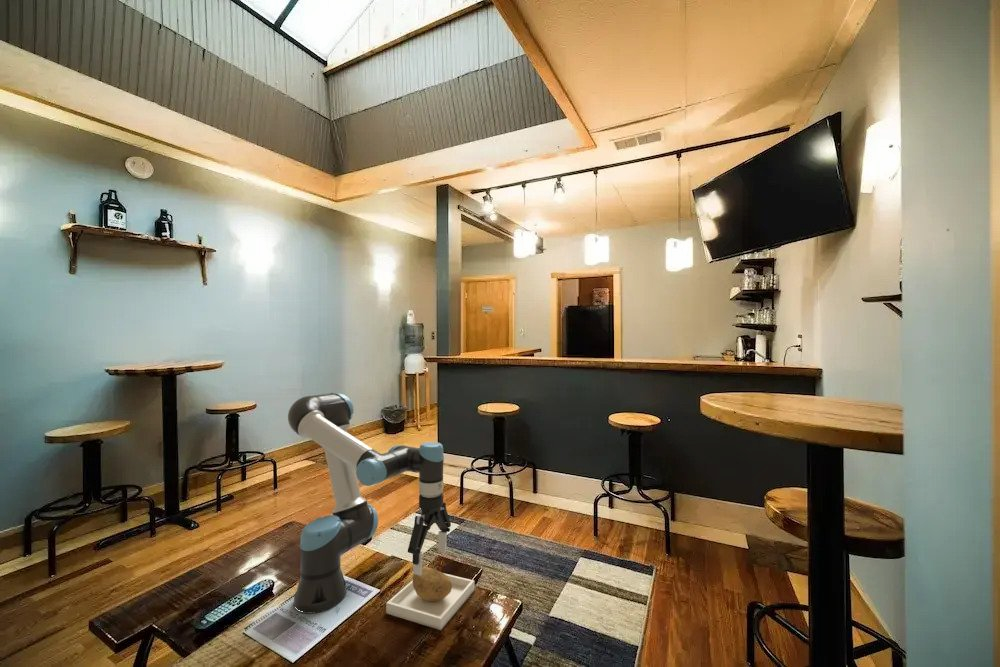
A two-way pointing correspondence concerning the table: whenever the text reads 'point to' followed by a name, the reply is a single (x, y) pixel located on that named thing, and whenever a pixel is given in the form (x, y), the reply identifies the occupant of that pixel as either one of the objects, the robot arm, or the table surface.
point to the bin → (430, 604)
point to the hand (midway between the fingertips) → (430, 562)
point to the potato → (432, 584)
